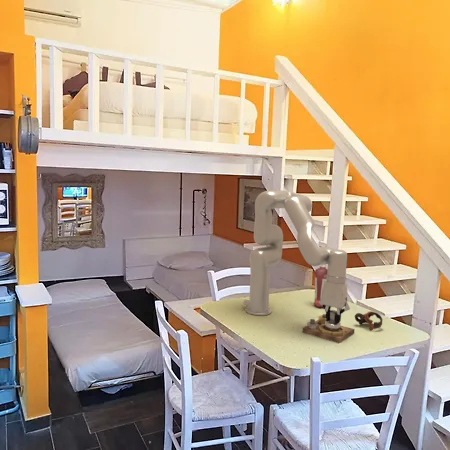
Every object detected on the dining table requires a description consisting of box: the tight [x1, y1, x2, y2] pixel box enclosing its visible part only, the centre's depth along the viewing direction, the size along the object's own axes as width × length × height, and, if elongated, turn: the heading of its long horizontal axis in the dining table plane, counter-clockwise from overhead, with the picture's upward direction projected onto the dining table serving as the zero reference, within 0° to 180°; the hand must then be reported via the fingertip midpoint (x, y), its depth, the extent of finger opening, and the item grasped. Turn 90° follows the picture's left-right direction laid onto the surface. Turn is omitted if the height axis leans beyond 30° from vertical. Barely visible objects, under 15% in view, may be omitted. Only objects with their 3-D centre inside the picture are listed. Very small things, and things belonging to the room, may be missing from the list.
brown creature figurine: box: [354, 311, 384, 332], centre depth 197 cm, size 12×10×8 cm
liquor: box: [313, 264, 328, 309], centre depth 224 cm, size 7×7×28 cm
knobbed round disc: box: [325, 309, 342, 331], centre depth 184 cm, size 6×6×7 cm
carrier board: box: [301, 313, 355, 344], centre depth 188 cm, size 17×15×6 cm
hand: (332, 321), depth 185 cm, fingers open, 3 cm apart
